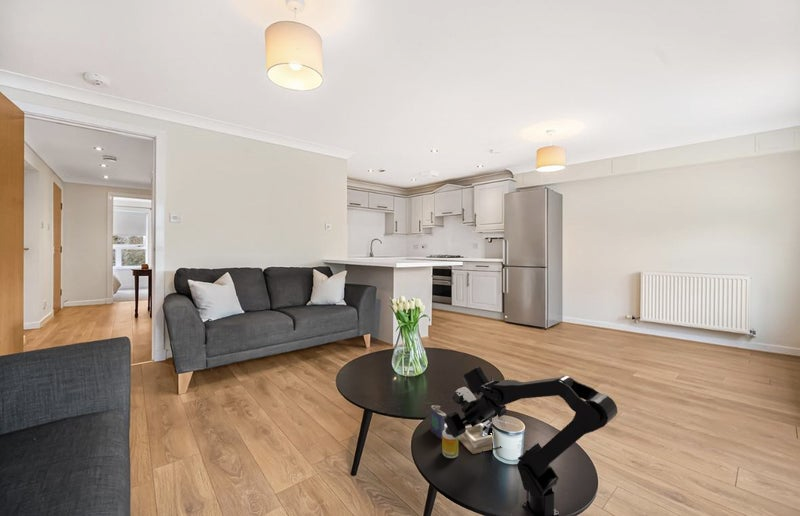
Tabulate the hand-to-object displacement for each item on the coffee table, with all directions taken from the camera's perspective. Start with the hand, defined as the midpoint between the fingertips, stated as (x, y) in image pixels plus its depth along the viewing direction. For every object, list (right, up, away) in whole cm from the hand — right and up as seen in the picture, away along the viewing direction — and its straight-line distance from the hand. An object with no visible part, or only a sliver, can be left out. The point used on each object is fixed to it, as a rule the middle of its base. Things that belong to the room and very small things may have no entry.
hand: (455, 427), depth 109 cm
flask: (-4, -10, +14) cm, 18 cm away
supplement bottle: (-2, -10, +2) cm, 10 cm away
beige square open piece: (+9, -10, +10) cm, 17 cm away
